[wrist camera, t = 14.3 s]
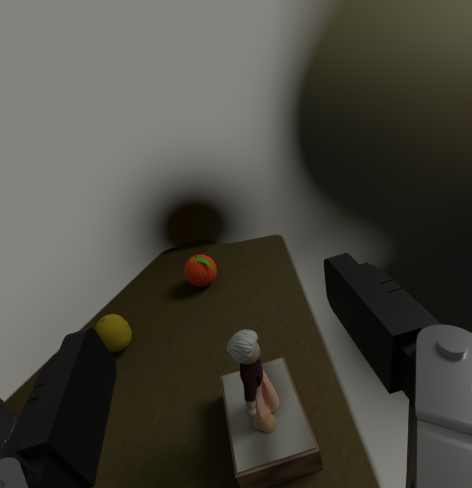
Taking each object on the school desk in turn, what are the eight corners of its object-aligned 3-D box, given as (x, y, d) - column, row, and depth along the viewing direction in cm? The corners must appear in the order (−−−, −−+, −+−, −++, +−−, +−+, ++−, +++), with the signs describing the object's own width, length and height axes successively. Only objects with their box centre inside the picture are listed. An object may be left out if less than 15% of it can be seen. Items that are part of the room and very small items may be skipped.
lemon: (138, 353, 53) (119, 321, 49) (107, 366, 52) (85, 334, 48) (137, 332, 58) (119, 301, 54) (108, 344, 57) (88, 313, 53)
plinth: (243, 494, 32) (234, 476, 30) (227, 393, 43) (219, 375, 41) (322, 468, 33) (319, 449, 31) (287, 375, 43) (283, 355, 41)
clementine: (230, 277, 66) (222, 251, 62) (211, 298, 61) (201, 270, 58) (203, 270, 71) (194, 245, 67) (183, 289, 66) (173, 263, 63)
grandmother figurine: (288, 438, 32) (269, 362, 26) (253, 446, 32) (225, 373, 26) (273, 375, 39) (254, 303, 32) (244, 382, 39) (219, 311, 32)
